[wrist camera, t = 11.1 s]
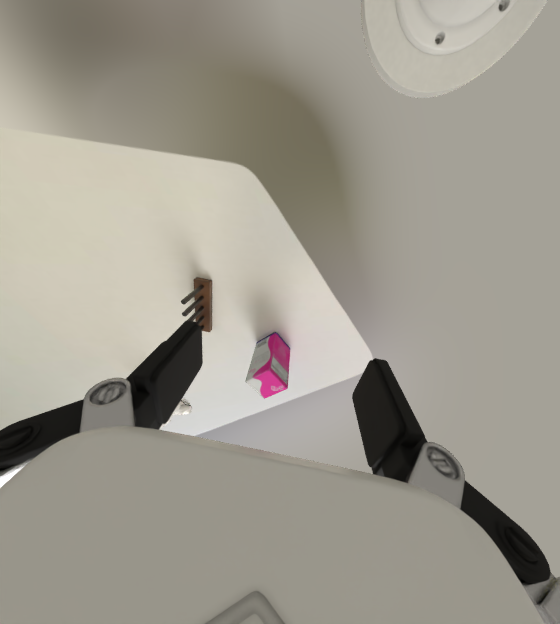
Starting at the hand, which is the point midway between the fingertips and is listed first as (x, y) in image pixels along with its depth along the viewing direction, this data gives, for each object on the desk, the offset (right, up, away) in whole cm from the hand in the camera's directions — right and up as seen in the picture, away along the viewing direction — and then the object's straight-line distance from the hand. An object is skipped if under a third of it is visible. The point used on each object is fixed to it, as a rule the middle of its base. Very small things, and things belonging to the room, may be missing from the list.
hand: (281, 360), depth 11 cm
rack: (-16, +4, +32) cm, 36 cm away
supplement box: (-1, -5, +36) cm, 36 cm away
